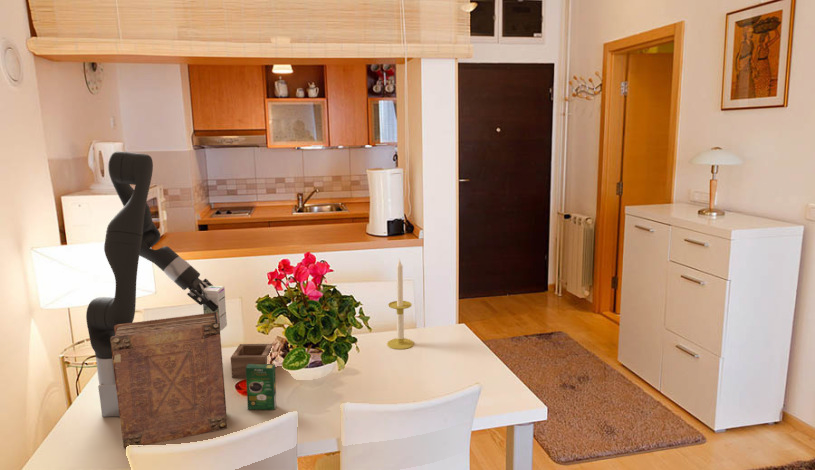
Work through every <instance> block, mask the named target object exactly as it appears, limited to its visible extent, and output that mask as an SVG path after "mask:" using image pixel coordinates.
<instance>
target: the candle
mask: <svg viewBox="0 0 815 470" xmlns="http://www.w3.org/2000/svg"><path fill="white" fill-rule="evenodd" d="M403 267H404V266H403V264H402V263H401V259H400V258H399V259H398V263H397V264H396V300H393V301H391V302H389V303H388V305H387V306H388V307H389V308H391V309H395V310H396V338H392V339H390V340H389V341H387V343H386V345H387V347H389V349H394V350H409V349H410V348H413V347H414V345H415V342H414V341H413V340H411V339H410V338H409V339H408V338H404V337H405V336H404V335H405V332H404V331H405V327H404V323H405V322H404V317H405V316H404V311H405V309H409V308H411V307H412V304H413V303H412V302H410V301H406V300H404V290H403V289H404V286H403V284H404V281H403V279H404V277H403V275H404V274H403V273H404V272H403Z"/></svg>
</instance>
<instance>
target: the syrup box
mask: <svg viewBox="0 0 815 470" xmlns="http://www.w3.org/2000/svg"><path fill="white" fill-rule="evenodd" d="M204 289H205V290H204V291H205V292H206V293H207V296H208V297H209V299H210V300H212V301H213V302H214V303H215V304H216V305H217V306H218V309H217V310H216V311H214V312H216V313H218V319H219V324H220V332H221V331H223V330H224V329H225V328H226V327H227V326H228V320H227V305H226V304H227V303H226V290H225V286H224V285H213V286H208V287H206V288H204ZM202 294H203V292H202ZM210 300H209V301H210ZM202 308H203V310H202V311H203V314H206V313H214V312H213V311H212V310H211V309H210V308H209V307H207V306H206V305H203V304H202Z"/></svg>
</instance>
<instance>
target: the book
mask: <svg viewBox="0 0 815 470" xmlns="http://www.w3.org/2000/svg"><path fill="white" fill-rule="evenodd" d="M114 330H115V336H112V337H111V338H110V342H111V350H112V358H113V366H114V374H115V382H116V390H117V398H118V406H119V414H120V416H119V419H120V420H119V421H120V429H121V437H122V445H123V449H124V450H127V449H126V447H127V446H129V445H143V446H147V445H152V444H156V443H162V442H167V441H171V440H176V439H182V438H186V437H192V436H196V435H202V434H206V433H210V432H214V431H220V430H225V429H228V418H227V417H228V416H227V406H226V405H227V404H226V392H225V390H226V389H225V377H224V365H223V353H222V351H223V350H222V338H221V331H220V324H219V319H218V313H216V312H214V313H206V314H204V313H201V314H200V313H199V314H198V313H197V314H192V315H183V316H175V317H167V318H159V319H151V320H142V321H136V322H135V321H133V322H132V323H126V324H118V325H115V326H114Z"/></svg>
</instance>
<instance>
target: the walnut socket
mask: <svg viewBox="0 0 815 470" xmlns="http://www.w3.org/2000/svg"><path fill="white" fill-rule="evenodd" d="M272 344H273V343H240V344H239V345H238V347H237V348H236V349H235V351H234V352H233V353H232V355H231V356H230V365H231V366H230V367H231V368H230V371H231V379H239V378H240V379H245V378H246V367H247V365H248V364H267V356H268V355H269V353H270V351H271V348H272Z"/></svg>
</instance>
